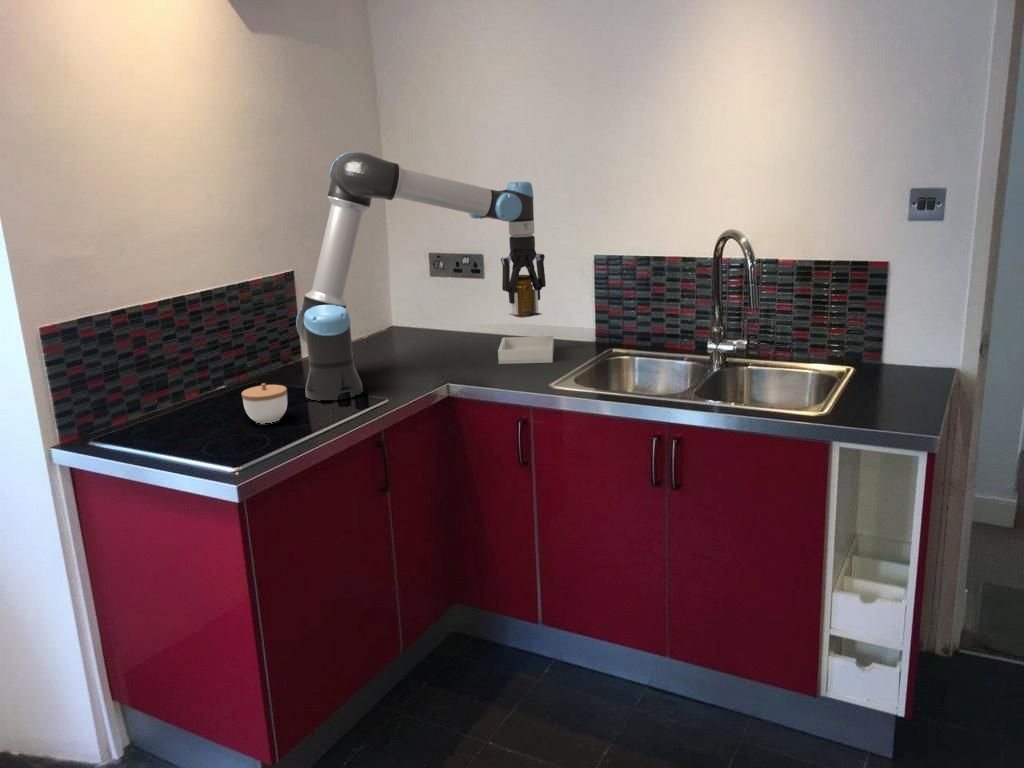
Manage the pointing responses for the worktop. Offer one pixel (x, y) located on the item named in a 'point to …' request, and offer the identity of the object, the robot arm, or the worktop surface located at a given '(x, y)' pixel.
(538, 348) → the tray
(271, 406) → the lidded jar
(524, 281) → the condiment
